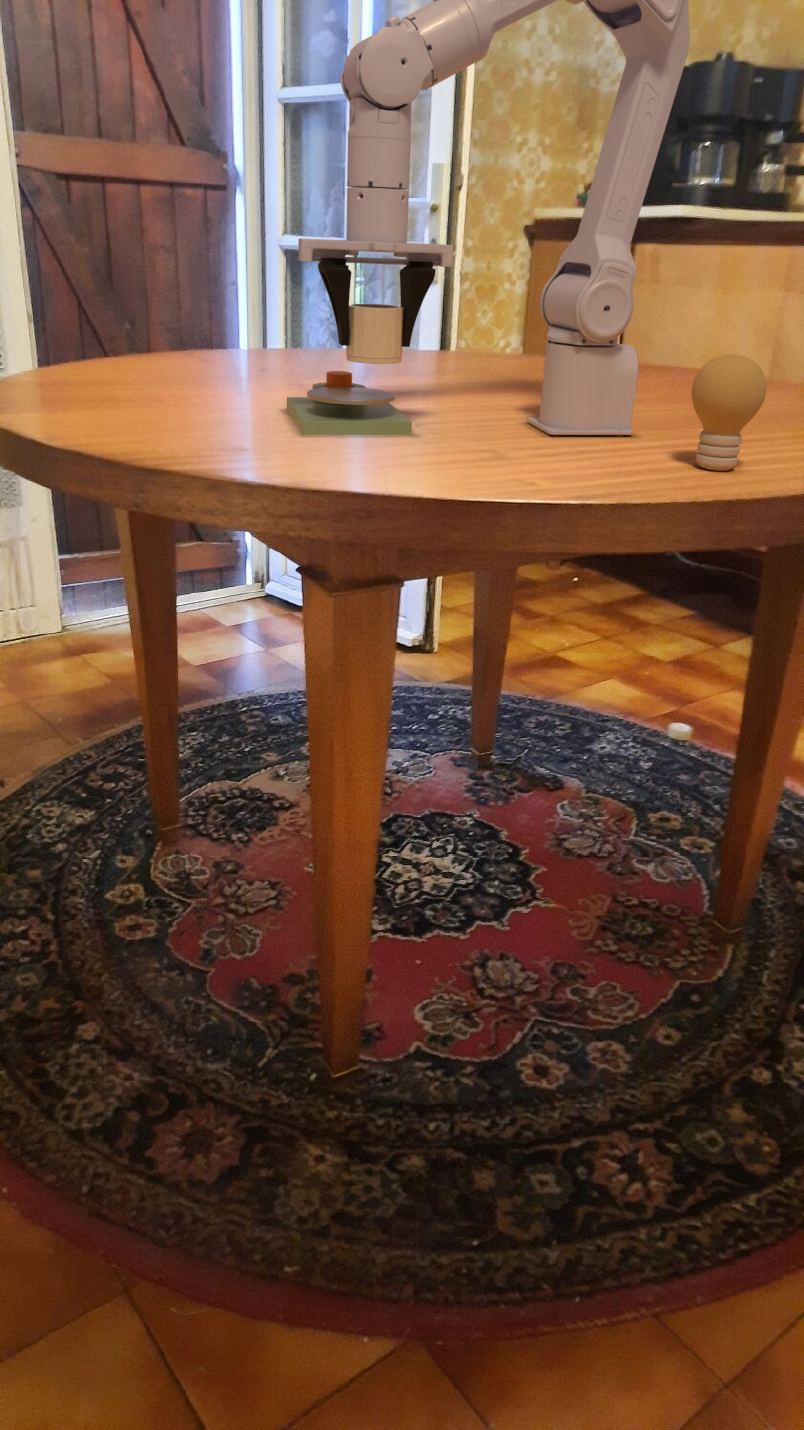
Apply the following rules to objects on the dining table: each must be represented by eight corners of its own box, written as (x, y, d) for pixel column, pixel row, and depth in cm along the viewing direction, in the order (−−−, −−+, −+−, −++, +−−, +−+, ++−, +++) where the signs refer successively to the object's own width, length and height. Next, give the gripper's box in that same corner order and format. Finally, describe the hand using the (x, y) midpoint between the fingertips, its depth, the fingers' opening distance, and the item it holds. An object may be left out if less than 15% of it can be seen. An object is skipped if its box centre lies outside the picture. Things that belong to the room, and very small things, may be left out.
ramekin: (394, 357, 103) (396, 304, 101) (406, 364, 98) (408, 309, 96) (342, 356, 102) (343, 303, 100) (351, 363, 97) (352, 307, 95)
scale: (286, 409, 114) (286, 381, 113) (382, 410, 116) (383, 382, 115) (302, 435, 101) (302, 404, 99) (411, 435, 103) (412, 405, 102)
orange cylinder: (324, 387, 113) (324, 370, 112) (349, 387, 113) (349, 371, 112) (328, 391, 110) (328, 374, 109) (353, 391, 111) (354, 374, 110)
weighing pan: (385, 391, 109) (385, 387, 109) (402, 405, 101) (403, 401, 101) (302, 390, 107) (301, 386, 107) (312, 404, 100) (313, 400, 99)
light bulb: (740, 479, 90) (762, 361, 86) (670, 468, 93) (688, 354, 89) (758, 467, 95) (780, 355, 91) (691, 458, 98) (709, 348, 94)
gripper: (305, 184, 89) (305, 348, 95) (465, 192, 92) (455, 351, 98) (295, 186, 95) (296, 340, 101) (445, 193, 98) (437, 343, 104)
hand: (373, 345), depth 100 cm, fingers closed on ramekin, 5 cm apart
